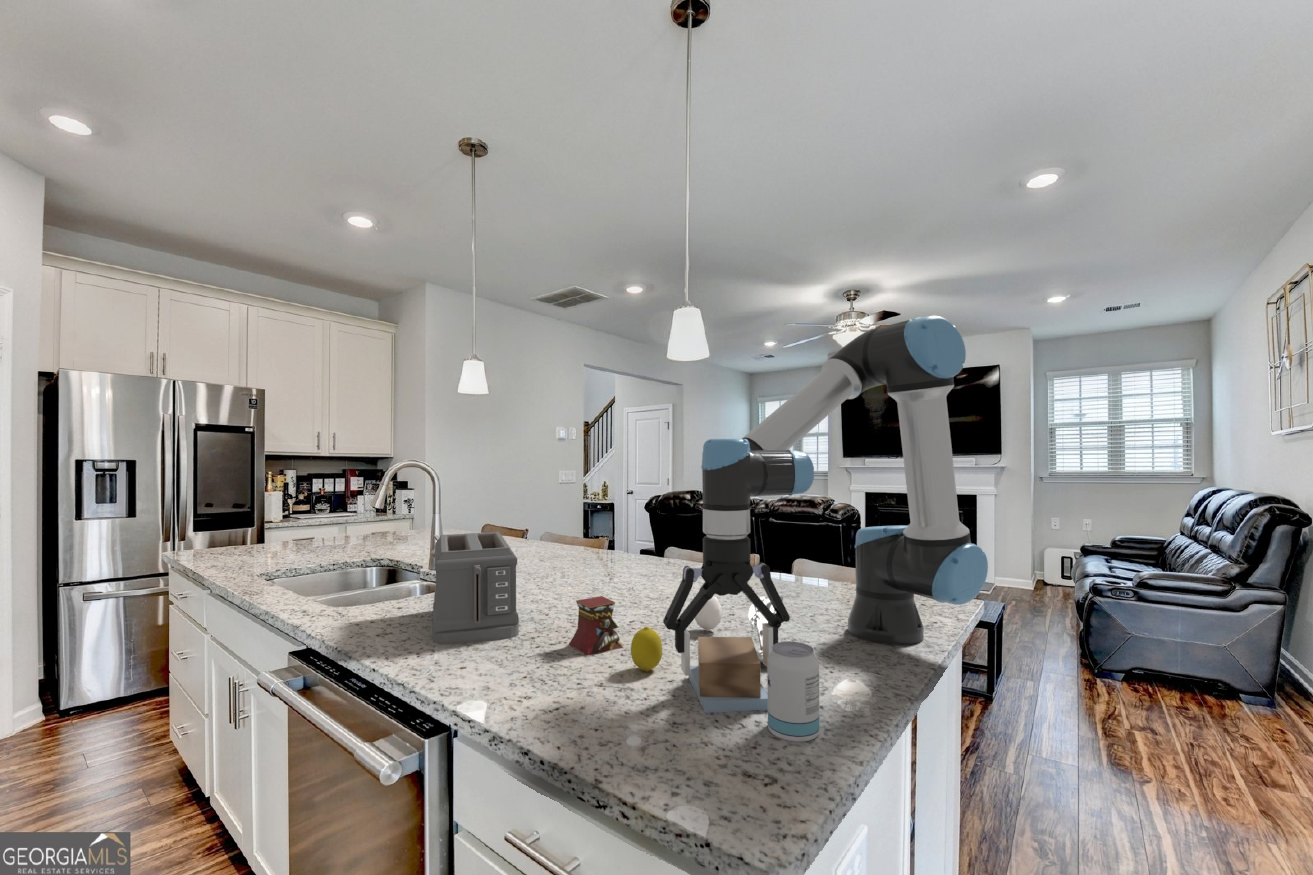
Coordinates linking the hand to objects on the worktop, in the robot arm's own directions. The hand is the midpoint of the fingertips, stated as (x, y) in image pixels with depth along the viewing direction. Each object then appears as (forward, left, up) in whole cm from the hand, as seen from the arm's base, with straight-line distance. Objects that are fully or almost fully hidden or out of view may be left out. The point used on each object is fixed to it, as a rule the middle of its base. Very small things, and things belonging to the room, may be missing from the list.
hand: (727, 669), depth 93 cm
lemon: (+11, -12, -4) cm, 17 cm away
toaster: (+44, -47, -5) cm, 65 cm away
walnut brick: (0, 0, -2) cm, 2 cm away
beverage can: (-5, +14, -4) cm, 16 cm away
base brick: (0, 0, -5) cm, 5 cm away
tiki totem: (+19, -27, -5) cm, 33 cm away
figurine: (-11, -12, -4) cm, 17 cm away
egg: (-6, -33, -4) cm, 34 cm away
